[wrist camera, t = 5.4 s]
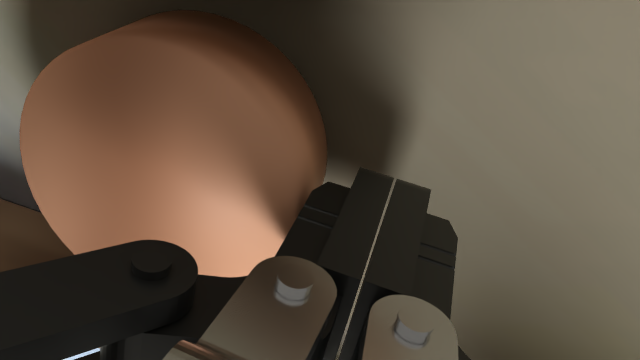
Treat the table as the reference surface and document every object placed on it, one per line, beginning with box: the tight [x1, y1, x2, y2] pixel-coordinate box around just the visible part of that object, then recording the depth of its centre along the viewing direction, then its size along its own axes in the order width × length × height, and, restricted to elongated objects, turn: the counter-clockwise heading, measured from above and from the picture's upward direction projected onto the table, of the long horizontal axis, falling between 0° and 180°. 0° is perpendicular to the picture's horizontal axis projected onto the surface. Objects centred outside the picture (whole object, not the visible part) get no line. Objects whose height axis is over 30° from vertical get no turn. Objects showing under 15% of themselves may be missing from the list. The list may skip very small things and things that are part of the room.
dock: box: [0, 199, 100, 348], centre depth 12 cm, size 14×15×4 cm
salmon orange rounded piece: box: [20, 10, 327, 277], centre depth 13 cm, size 6×6×2 cm
